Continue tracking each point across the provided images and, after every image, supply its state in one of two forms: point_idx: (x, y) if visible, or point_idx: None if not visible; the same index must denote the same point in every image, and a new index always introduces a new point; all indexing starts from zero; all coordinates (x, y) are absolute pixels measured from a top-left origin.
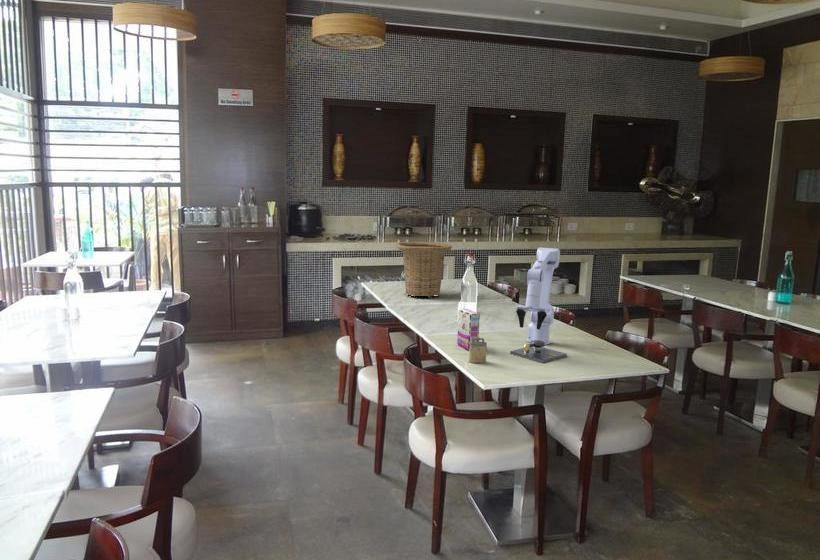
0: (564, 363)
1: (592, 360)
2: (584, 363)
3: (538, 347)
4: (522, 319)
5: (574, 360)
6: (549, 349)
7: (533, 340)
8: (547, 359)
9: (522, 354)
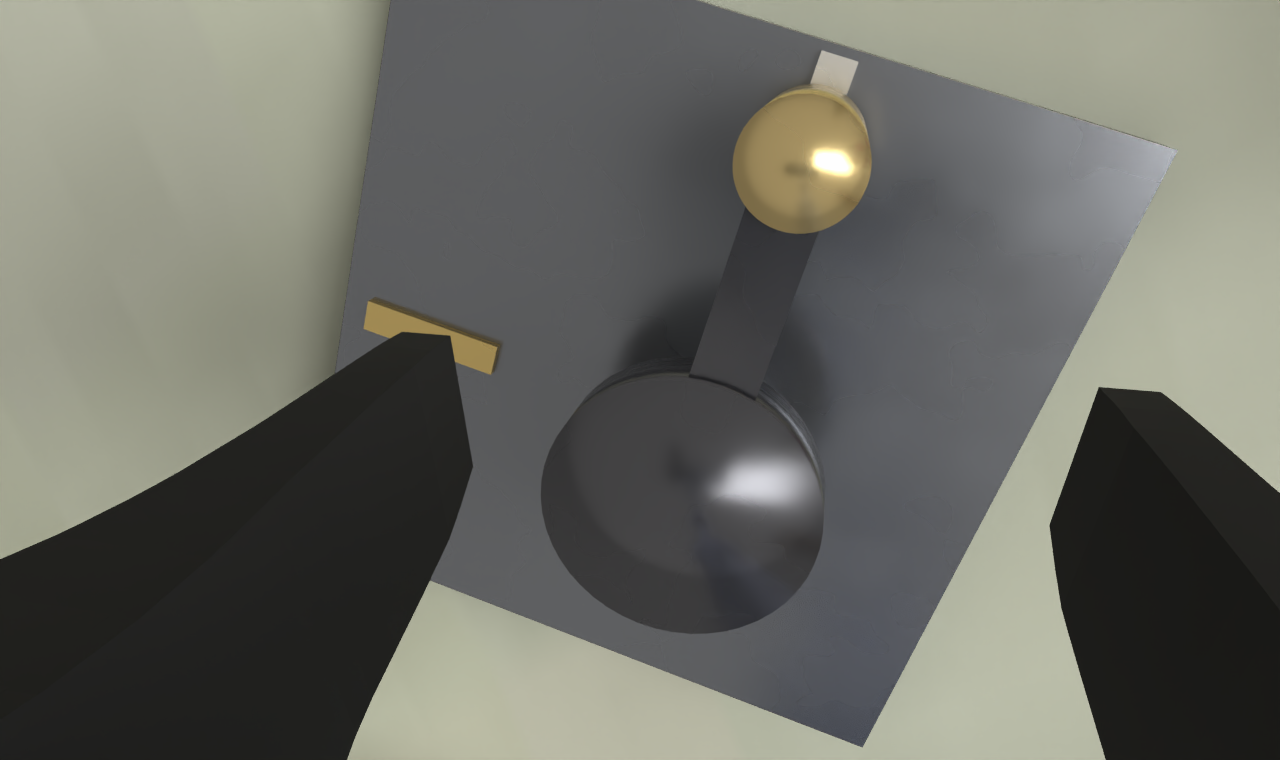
0: (190, 146)
1: (46, 499)
2: (31, 315)
3: None
4: (1199, 742)
5: (178, 381)
6: (587, 623)
7: (792, 582)
8: (386, 63)
9: (864, 61)
